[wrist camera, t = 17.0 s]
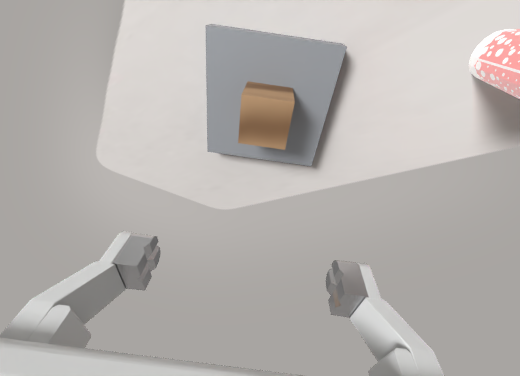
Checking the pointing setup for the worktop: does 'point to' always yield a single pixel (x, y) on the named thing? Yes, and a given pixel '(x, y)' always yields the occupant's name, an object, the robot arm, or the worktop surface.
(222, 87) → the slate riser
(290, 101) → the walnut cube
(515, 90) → the beverage cup
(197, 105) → the worktop surface
